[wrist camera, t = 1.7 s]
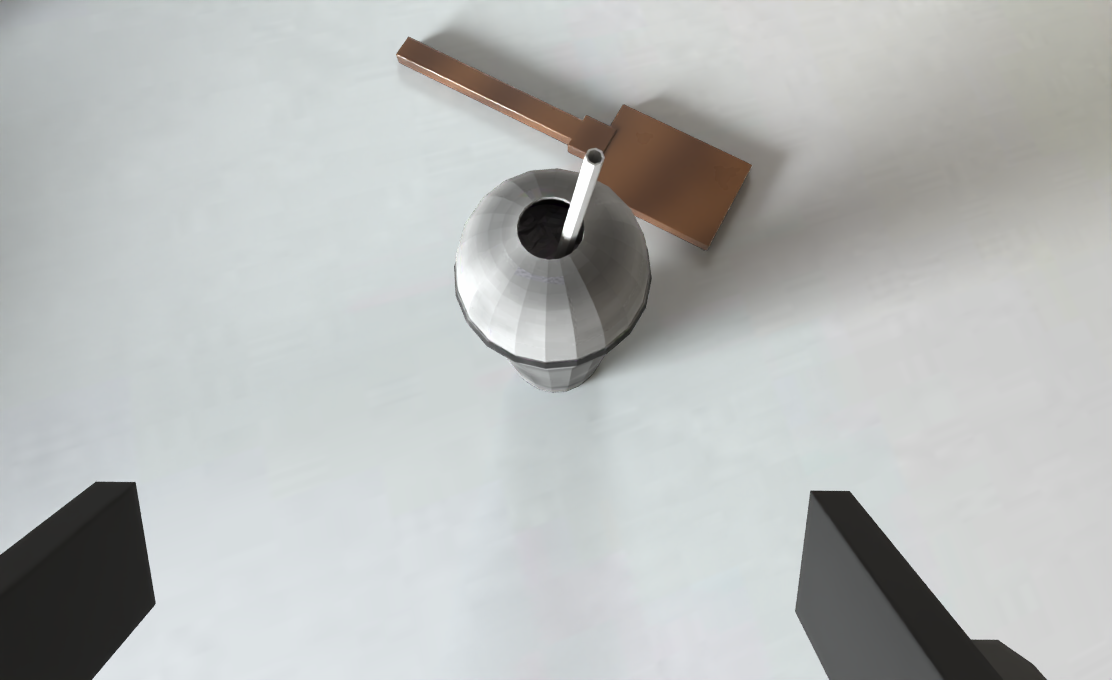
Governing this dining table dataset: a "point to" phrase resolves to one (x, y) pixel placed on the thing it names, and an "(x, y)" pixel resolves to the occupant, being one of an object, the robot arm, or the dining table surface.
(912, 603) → the robot arm
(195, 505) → the dining table surface
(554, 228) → the beverage cup
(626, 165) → the spatula
